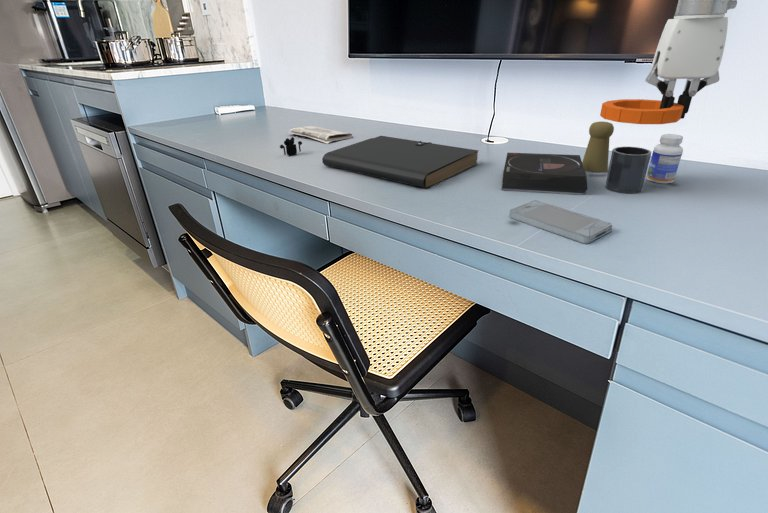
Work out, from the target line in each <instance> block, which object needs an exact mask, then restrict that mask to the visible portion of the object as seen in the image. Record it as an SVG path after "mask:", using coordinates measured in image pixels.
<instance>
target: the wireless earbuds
mask: <svg viewBox="0 0 768 513" xmlns="http://www.w3.org/2000/svg"><path fill="white" fill-rule="evenodd" d="M297 144H298V149H297ZM297 144H296V143H295V138H294V137H293V136H292V137H290V138H288V137H287V138H285V140H284V141H283V144H280V145H279V148H280V149H281V150H283V154H284V156H286V155H287V156H290V157H291V156H294V155H295V156H296V155H297V153H298V151H299V153H301V152H302V149H301V145H303V142H302V140H299V141H297Z"/></svg>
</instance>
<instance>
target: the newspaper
mask: <svg viewBox="0 0 768 513" xmlns="http://www.w3.org/2000/svg"><path fill="white" fill-rule="evenodd" d="M287 133H288V134H292V135H296V136H301V137H307V138H309V139H313V140H316V141H318V142H322V143H325V144H327V145H328V144H329V143H332V142H334V141H341V140H342V141H343V140H347V139H350V138H352V136H353V133H349V132H344V131H340V130H335V129H329V128H324V127H319V126H314V125H310V126H309V125H308V126H307V125H306V126H299V127H298V126H297V127H294V128H290V130H289V131H287Z"/></svg>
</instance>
